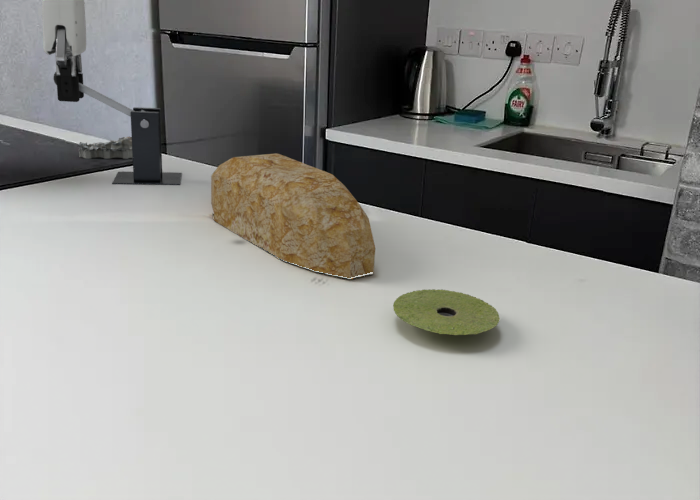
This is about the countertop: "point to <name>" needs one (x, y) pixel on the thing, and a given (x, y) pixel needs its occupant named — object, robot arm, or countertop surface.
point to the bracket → (147, 151)
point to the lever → (102, 98)
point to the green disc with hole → (446, 312)
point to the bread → (294, 213)
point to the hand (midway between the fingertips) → (71, 98)
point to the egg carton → (107, 149)
